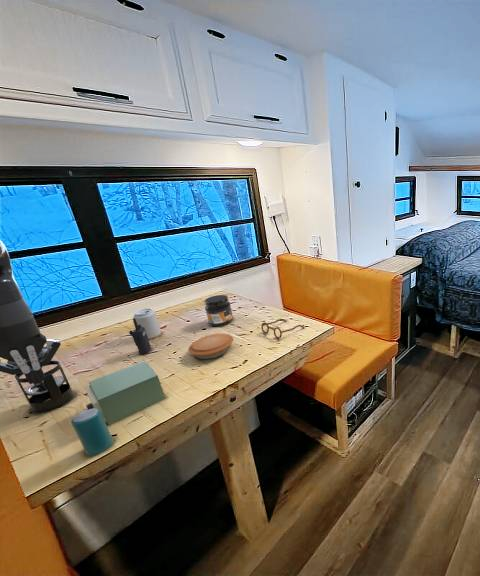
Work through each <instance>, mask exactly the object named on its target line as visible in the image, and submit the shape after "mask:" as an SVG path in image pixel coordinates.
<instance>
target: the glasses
mask: <svg viewBox="0 0 480 576" xmlns="http://www.w3.org/2000/svg"><path fill="white" fill-rule="evenodd" d="M280 321H282V322H287V320H286V319H284V318H279V319H277V320H275V321H271V322H262V323H261V331H262V333H263V334H268V333H269V331H270V330H273V335H274V337H275V339H278V340H279V339H281V338H282V336H283V333H286V332H287V333H288V332H290V331H294V330H295V329H297V328H299V327H300V328H302V329H304V328H305V326H303V325H301V324H298V325H295V326H294V327H292V328H288V329H285V330H282V329H281V328H280V327H278V326H277V327H272V326H269V325H272V324H276V323H278V322H280ZM264 326H266V328H267V329H266V331H265V329H264ZM276 330H278V331H279V336H277V334H276Z"/></svg>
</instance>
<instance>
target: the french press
mask: <svg viewBox="0 0 480 576" xmlns="http://www.w3.org/2000/svg"><path fill="white" fill-rule="evenodd" d="M47 350H48V348H47V347H46V346H44V347H43V349H42V350H41V352H40V353H39V354H38V355H37V357H38V361H40V360H41V359H42V358H43V356H44V355H45V353H46V351H47ZM25 360H26V362H27V363H28V365H29V367H30V368H31V369H32V370H33V367H32V364H31V361H30V358H27V359H25ZM6 364H9V365H12V366H16V367H19V366H18V365H17V363H16V362H13V361H9V360H6ZM52 365H54V366H55V367H52V368H51V369H50V370H48V371H45V372H43V373H44V375H45V380H42V381H43V383H40V384H37V385H34V383H33V384H30V385H29V386H28V387H27V388H26V389H24V386H23V384H25V383H28V381H27V379H26V377H23V378H22V376H23V375H24V374H22V373H19V374H16V375H14V379H15V380H16V382H17V384H18V386H19V387H20V390H21V391H22V394H23V395H24V397H25V399H26V402H27V403H28V405H29V407H30V411H31V413H34V414H43V413H44V414H45V413H48V412H52V411H54V410H57V409H59V408H61V407H63V406H65V405H67V404H68V403H69V402H71V401H72V400H73V399H74V398H75V396H76V393H75V392H74V391H73V389H72V387H71V384H70V383H69V380H68V378H67V376H66V374H65V371H64V369H63V367H62V365H61V363H60V361H58V360H51V361H50V363H49V364H47V365H45V366H44V367H47V366H52ZM58 371H60V373H61V376H54V375H53V374H55V373H57V372H58ZM50 398H51V399H50Z"/></svg>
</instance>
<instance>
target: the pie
mask: <svg viewBox="0 0 480 576" xmlns="http://www.w3.org/2000/svg"><path fill="white" fill-rule="evenodd" d="M233 342H234V337H233V336H232V335H230V334H227V333H213V334H207V335H205V336H202V337H200V338H198V339H197V340H194V341H193V342H192V343H191V344H190V345H189V346H188V349H187V352H188V353H189V354H190V355H192V356H195V357H196V358H198V359H200V360H213V359H215V358H219V357H221V356H223V355H225V354H226V353H227V352H228V351H229V349H230V348H231V345H232V344H233Z"/></svg>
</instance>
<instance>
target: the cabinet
mask: <svg viewBox="0 0 480 576" xmlns="http://www.w3.org/2000/svg"><path fill="white" fill-rule="evenodd" d="M88 384H89V386H91V388H92V390H93V392H94V394H95V396H96V398H97V400H98V402H99V404H100V406H101V409H102V411H103V413H104V416H105V418H106V420H107V422H106V424H107V426H110V425H112V424H114V423H117V422H119V421H120V420H123V419H125V418H127V417H130V416H131V415H134V414H136V413H138V412H140V411H141V410H145V409H146V408H148V407H151V406H152V405H155V404H156V403H158V402H162V401H163V400H165V399H166V397H165V393H164V389H163V387H162V383H161V381H160V378H159V375H158V374H157V373H156V371H154V369H153V368H152V367H151V366H150V365H149V364H148V363H147V362H146V360H143V361H140V362H138V363H135V364H132V365H129V366H127V367H125V368H121V369H119V370H116V371H114V372H112V373H109V374H106V375H104V376H101V377H98V378H96V379H95V378H94V379H93V380H90V381H88Z"/></svg>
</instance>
